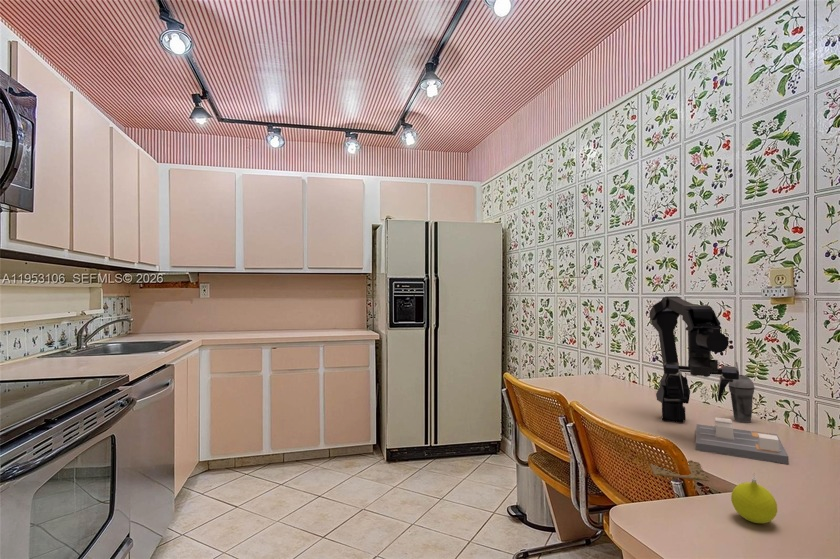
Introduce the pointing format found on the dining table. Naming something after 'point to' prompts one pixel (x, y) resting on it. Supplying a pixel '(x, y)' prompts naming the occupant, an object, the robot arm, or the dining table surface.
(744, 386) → the beverage cup
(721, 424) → the slider middle
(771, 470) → the dining table surface
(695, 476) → the speckled tan slab
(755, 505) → the ornament
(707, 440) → the switch panel
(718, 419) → the slider far
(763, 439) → the slider near
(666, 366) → the robot arm
